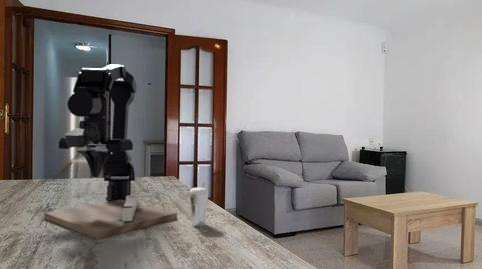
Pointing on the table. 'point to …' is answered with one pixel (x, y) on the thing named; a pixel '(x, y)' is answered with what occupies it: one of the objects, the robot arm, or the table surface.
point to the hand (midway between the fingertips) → (95, 177)
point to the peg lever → (130, 207)
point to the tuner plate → (107, 218)
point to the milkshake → (198, 205)
